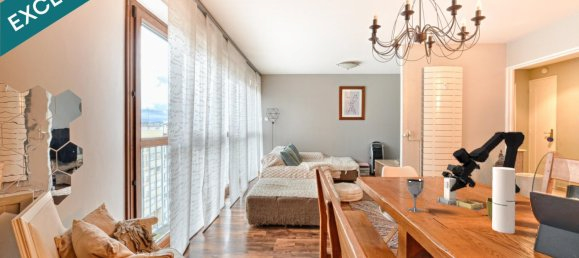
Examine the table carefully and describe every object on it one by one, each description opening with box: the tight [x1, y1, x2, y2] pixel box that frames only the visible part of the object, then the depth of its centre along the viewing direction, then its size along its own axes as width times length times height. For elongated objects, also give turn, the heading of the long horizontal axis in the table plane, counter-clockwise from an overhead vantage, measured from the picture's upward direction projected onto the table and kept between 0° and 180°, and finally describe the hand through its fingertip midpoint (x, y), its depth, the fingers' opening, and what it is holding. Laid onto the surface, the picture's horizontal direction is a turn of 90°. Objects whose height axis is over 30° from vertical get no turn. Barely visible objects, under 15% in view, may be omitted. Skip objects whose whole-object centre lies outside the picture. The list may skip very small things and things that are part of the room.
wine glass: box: [406, 178, 425, 213], centre depth 134 cm, size 8×8×15 cm
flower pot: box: [485, 196, 492, 222], centre depth 119 cm, size 9×9×9 cm
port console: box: [435, 196, 487, 211], centre depth 142 cm, size 12×20×3 cm, turn 41°
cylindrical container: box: [491, 166, 516, 235], centre depth 108 cm, size 7×7×25 cm
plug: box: [443, 177, 457, 200], centre depth 145 cm, size 4×4×13 cm
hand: (447, 190), depth 145 cm, fingers closed on plug, 4 cm apart
